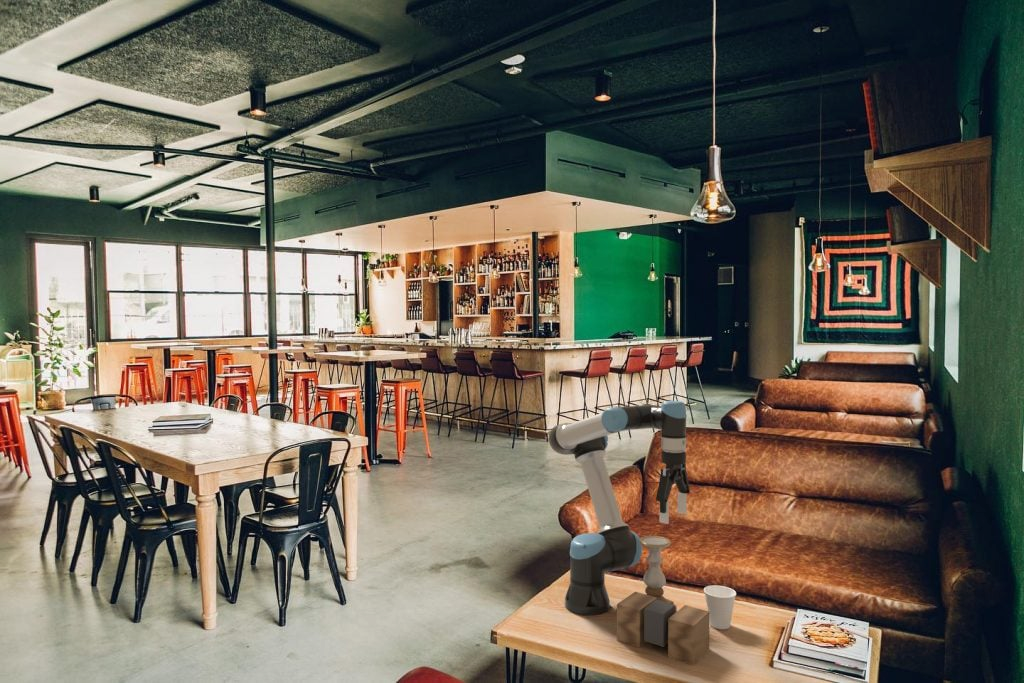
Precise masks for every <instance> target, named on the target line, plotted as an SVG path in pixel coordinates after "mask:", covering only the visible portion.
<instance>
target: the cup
mask: <svg viewBox="0 0 1024 683" xmlns="http://www.w3.org/2000/svg"><path fill="white" fill-rule="evenodd" d="M703 592H704V597H705V603H706V607H707V608H706V611H709V626H711V627H712V628H714V629H716V630H727V629H729V628H730V627H731V622H732V616H733V611H734V605H735V599H736V596H737V592H736V591H735V590H734V589H733V588H730V587H728V586H724V585H717V584H716V585H707V586H705V587H704V588H703Z"/></svg>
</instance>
